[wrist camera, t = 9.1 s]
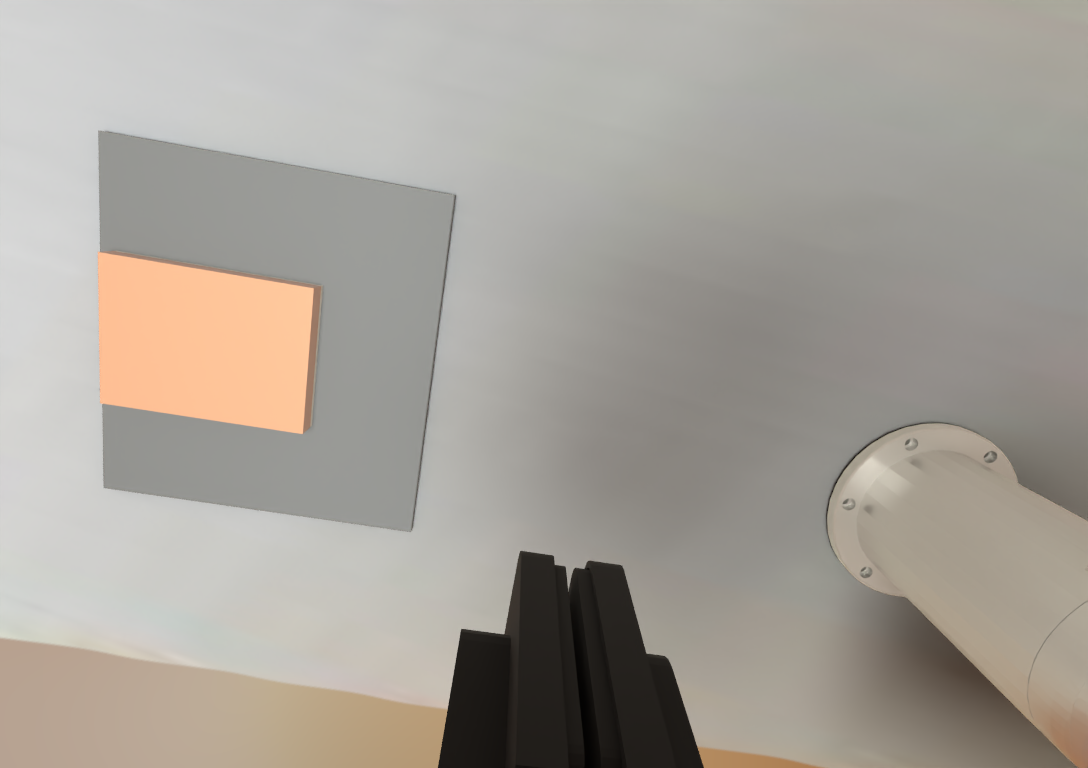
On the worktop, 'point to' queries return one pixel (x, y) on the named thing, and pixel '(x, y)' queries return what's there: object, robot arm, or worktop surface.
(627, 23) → the worktop surface
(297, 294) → the tile
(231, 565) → the worktop surface
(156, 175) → the slate mat
